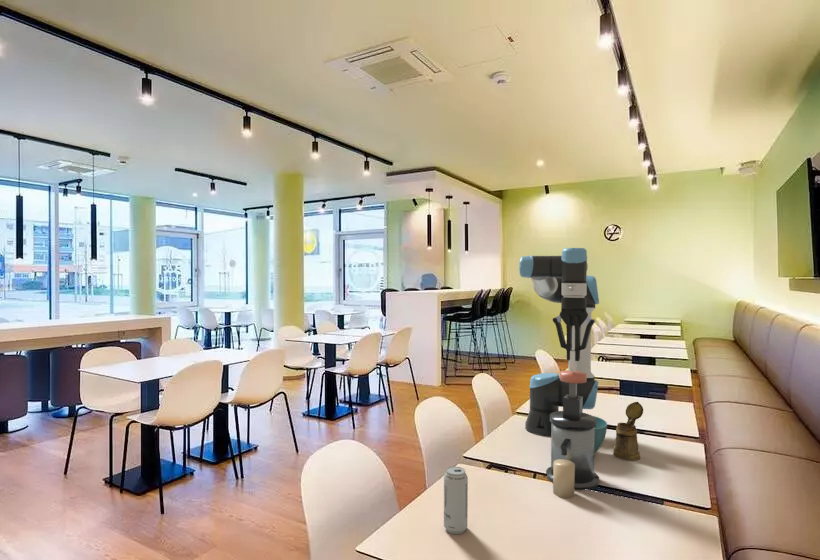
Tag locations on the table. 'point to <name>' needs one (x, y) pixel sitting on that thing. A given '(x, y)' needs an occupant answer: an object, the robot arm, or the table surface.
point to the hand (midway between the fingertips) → (573, 370)
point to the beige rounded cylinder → (563, 478)
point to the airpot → (574, 442)
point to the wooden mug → (628, 434)
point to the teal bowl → (599, 433)
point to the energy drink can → (455, 500)
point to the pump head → (573, 380)
